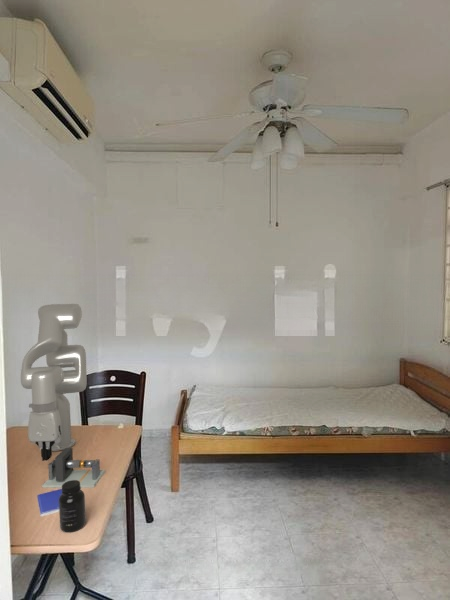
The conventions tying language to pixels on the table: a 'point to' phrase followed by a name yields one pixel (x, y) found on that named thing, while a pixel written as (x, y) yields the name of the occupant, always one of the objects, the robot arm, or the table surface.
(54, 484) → the board
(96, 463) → the rail
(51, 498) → the hard drive
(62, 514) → the supplement bottle
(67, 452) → the collar
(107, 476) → the table surface
